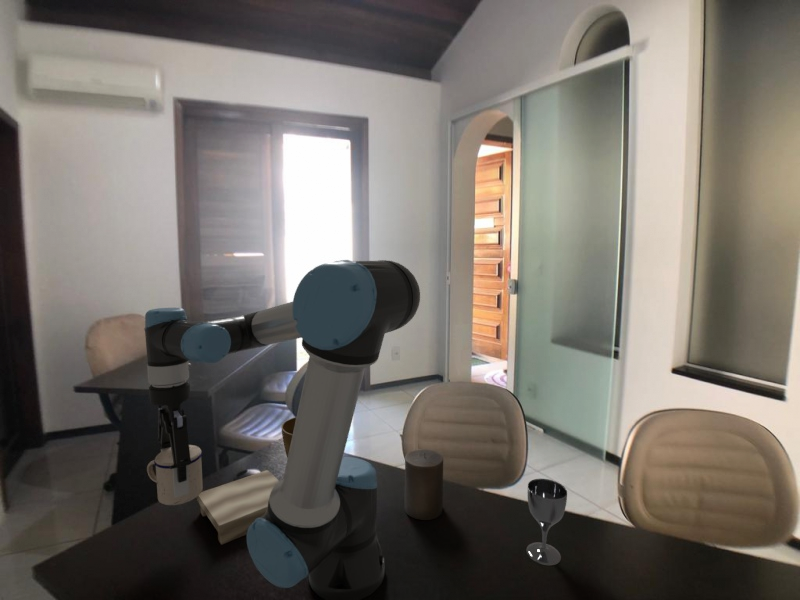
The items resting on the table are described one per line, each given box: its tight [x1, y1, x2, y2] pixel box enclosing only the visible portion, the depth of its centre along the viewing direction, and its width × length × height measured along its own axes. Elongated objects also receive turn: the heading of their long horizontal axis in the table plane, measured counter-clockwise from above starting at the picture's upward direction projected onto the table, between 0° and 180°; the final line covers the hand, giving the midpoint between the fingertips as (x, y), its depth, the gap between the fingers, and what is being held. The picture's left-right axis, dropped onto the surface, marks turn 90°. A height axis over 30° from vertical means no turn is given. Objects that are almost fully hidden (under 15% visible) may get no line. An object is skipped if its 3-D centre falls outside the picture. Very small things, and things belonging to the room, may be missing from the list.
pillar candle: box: [404, 448, 444, 521], centre depth 108 cm, size 10×10×15 cm
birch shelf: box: [196, 469, 280, 545], centre depth 105 cm, size 16×18×5 cm
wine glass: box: [525, 478, 568, 567], centre depth 92 cm, size 8×8×15 cm
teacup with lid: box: [146, 444, 204, 506], centre depth 92 cm, size 12×9×12 cm
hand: (175, 485), depth 92 cm, fingers closed on teacup with lid, 9 cm apart
